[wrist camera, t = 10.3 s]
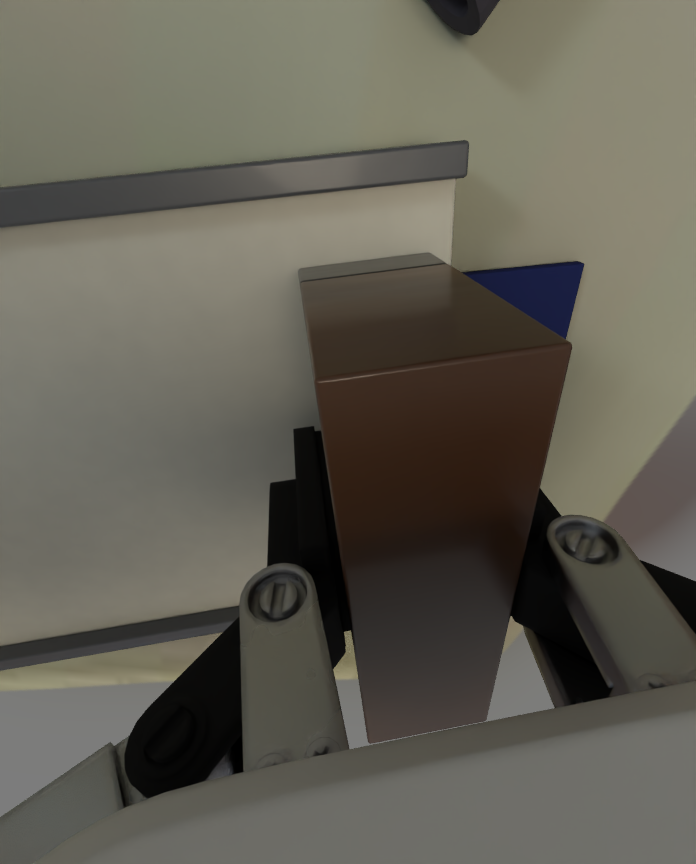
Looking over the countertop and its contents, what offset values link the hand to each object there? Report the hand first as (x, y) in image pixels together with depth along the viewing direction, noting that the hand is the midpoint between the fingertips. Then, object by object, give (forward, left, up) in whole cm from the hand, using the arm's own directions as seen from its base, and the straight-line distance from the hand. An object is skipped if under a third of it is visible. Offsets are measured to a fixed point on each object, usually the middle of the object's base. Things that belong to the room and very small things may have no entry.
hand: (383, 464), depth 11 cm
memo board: (-6, 0, -3) cm, 7 cm away
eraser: (0, 0, -1) cm, 1 cm away
